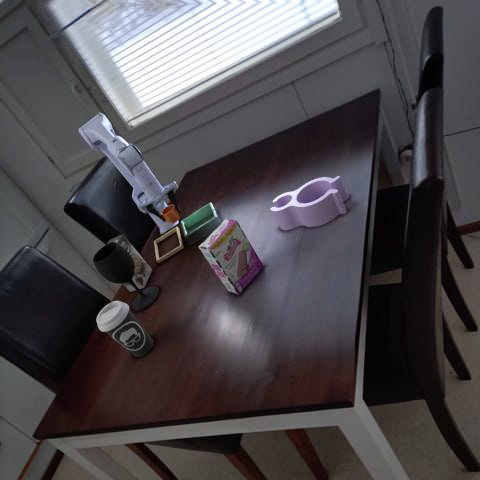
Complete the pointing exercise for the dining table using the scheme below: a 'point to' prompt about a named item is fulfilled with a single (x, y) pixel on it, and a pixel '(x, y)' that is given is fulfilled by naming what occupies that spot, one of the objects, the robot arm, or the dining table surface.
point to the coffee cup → (124, 328)
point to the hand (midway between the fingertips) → (172, 216)
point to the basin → (200, 223)
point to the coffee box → (141, 266)
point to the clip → (311, 204)
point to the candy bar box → (231, 256)
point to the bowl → (170, 214)
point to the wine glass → (122, 272)
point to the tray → (172, 250)
